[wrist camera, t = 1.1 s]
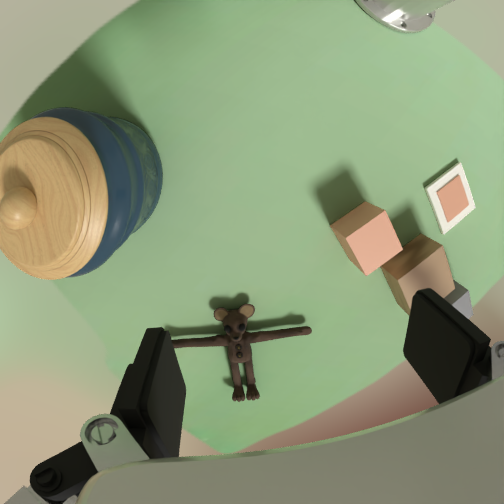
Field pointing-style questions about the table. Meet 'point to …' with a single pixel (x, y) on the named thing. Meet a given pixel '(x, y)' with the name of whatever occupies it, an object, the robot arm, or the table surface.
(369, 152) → the table surface
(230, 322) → the brown spindly figurine
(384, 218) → the terracotta block
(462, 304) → the charcoal block
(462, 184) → the card
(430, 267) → the walnut block
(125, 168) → the canister
